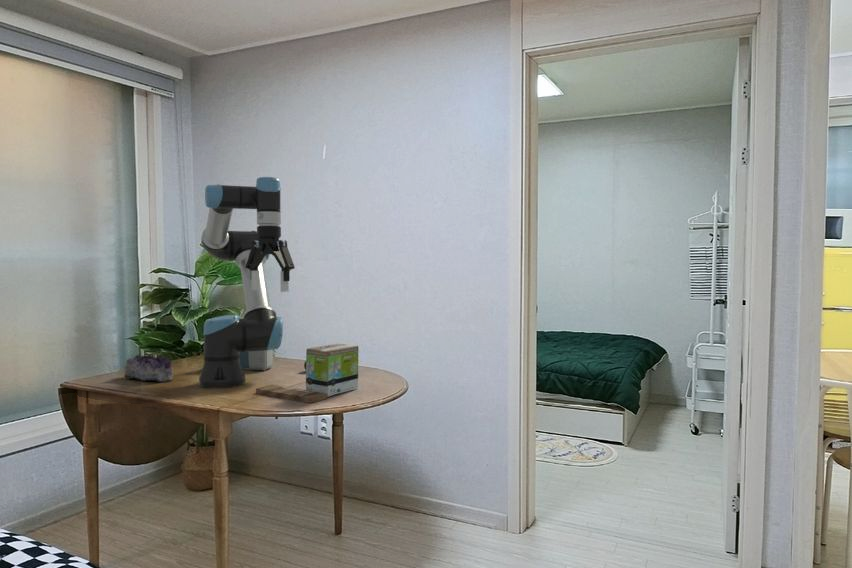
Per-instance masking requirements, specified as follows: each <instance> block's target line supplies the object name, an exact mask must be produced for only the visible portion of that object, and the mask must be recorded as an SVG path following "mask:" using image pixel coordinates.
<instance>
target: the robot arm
mask: <svg viewBox="0 0 852 568" xmlns="http://www.w3.org/2000/svg"><path fill="white" fill-rule="evenodd" d="M204 190H205V192H204V202H205V203H204V204H205V206H206V207H207V208H208V209H209V210H208V215H207V222H206V226H205V227H206V228H204V229H203V231H202V234H201V244H202V246H203V248H204V250H205V251H206V252H207V253H208V254H209V255H211V257H213V258H215V259H218V260H220V261H227V262H229V261H231V262H233V261H234V263H235V264H236V266H237V267H238V268H239V269H240V273H241V275H240V276H241V281H242V288H243V295H244V302H245V310H246V312H245V313H244V315H243V316H242V317H243V318H241V317H240V316H239V314H231V315H230V314H225V315H221V316H216V317H212V318H208V319H206V321H205V322H204V324H203V333H202V334H203V356H204V357H203V361H204V362H203V365H202V368H201V372H200V376H199V378H198V386H200V387H202V388H211V389H221V388H222V389H223V388H231V387H236V386H241V385H243V384H246V374H245V373H244V369H243V368H242V365H241V363H240V352H249V351H264V350H267V351H269V350H273V351H274V350H278V349H279V348H280V346H281V344H282V342H283V333H284V332H283V331H284V320H283V318H282V317H281V316H277V312H276V311H275V310H274V309H272V308H271V302H270V295H269V291H268V283H267V279H266V272H265V264H266V262H267V260H269V258H270V255H272V256H273V257H274V259H275V260H276V262H277V264H278V265H279V267H280V269H281V270H280V273H279V274H280V277H279V278H280V293H285V292H289V291H290V289H289V282H290V278H291V277H290V272H291V270H294V269H295V268H296V267H295V264H294V262H293V259H292V257H291V256H292V255H291V253H290V251H289V248H288V241H287V240H286V239H280V238H281V237H282V227H281V226H280V225H282V217H281V216H282V215H281V213H282V212H281V211H282V210H281V191H282V188H281V181H280V179H279V178H278V177H271V176H262V177H261V176H260V177H257V178H256V182H255V186H247V185H225V184H222V185H221V184H208V185H206V186H205V189H204ZM235 209H236V210H237V209H239V210H242V209H243V210H256V225H258V226H257V227H256V230H251V231H250V230H249V231H248V230H229V227H230V223H231V219H232V215H233V210H235Z"/></svg>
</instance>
